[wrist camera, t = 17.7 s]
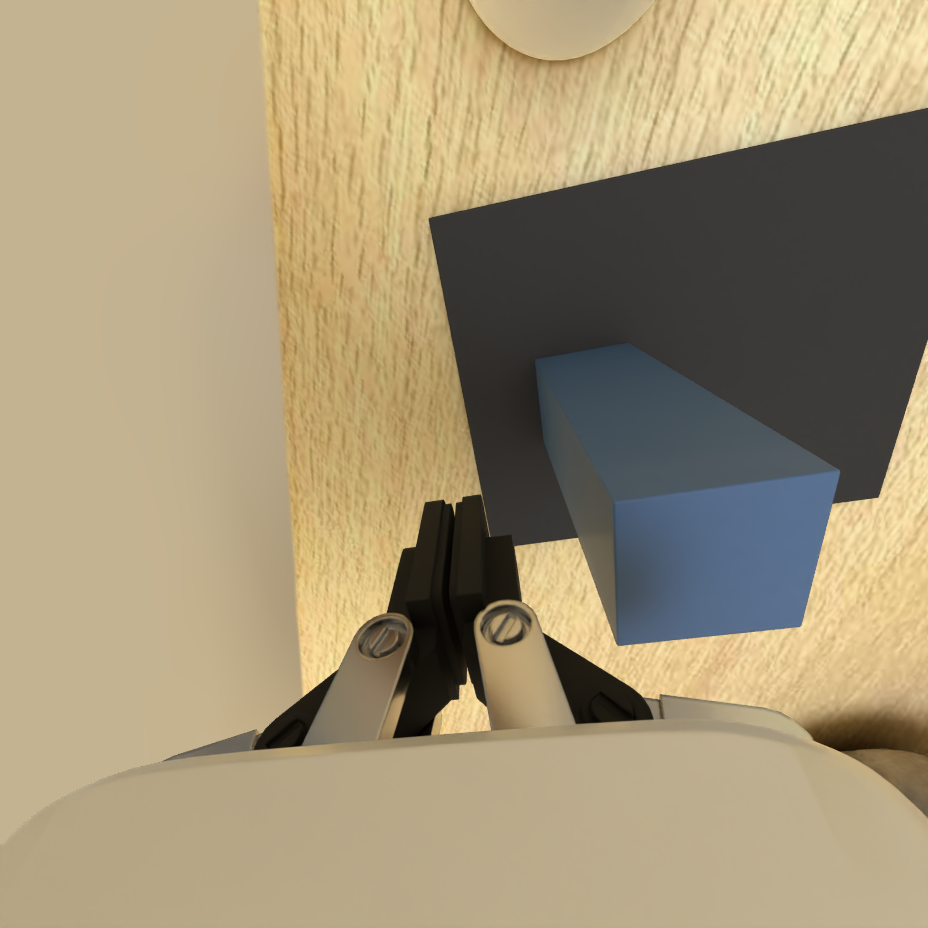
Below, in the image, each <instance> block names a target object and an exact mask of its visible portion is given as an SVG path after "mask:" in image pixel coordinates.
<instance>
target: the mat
mask: <svg viewBox="0 0 928 928" xmlns="http://www.w3.org/2000/svg"><path fill="white" fill-rule="evenodd" d="M429 222H430V228H431V233H432V238H433V243H434V248H435V253H436V258H437V264H438V269H439V274H440V279H441V284H442V289H443V294H444V300H445V305H446V310H447V315H448V320H449V325H450V330H451V335H452V341H453V346H454V351H455V356H456V361H457V366H458V371H459V377H460V382H461V387H462V392H463V397H464V402H465V407H466V413H467V418H468V423H469V428H470V433H471V438H472V443H473V448H474V454H475V459H476V464H477V469H478V474H479V479H480V484H481V490H482V495H483V500H484V505H485V510H486V515H487V520H488V525H489V531H490V536H491V537H495V536H503V535H510V534H512V537H513V543H514V546H518V545H526V544H533V543H541V542H548V541H556V540H563V539H571V538H578V535H577V533H576V530H575V527H574V524H573V521H572V519H571V516H570V513H569V510H568V508H567V505H566V502H565V499H564V496H563V494H562V491H561V488H560V485H559V483H558V480H557V477H556V474H555V471H554V469H553V466H552V463H551V460H550V458H549V455H548V452H547V449H546V446H545V444H544V440H543V431H542V422H541V413H540V403H539V394H538V385H537V376H536V367H535V359H540V358H545V357H551V356H557V355H562V354H568V353H573V352H579V351H584V350H590V349H596V348H601V347H607V346H612V345H618V344H624V343H630V344H631V345H633V346H635V347H636V348H638V349H640V350H641V351H643V352H645V353H646V354H648V355H650V356H651V357H653V358H654V359H656V360H658V361H659V362H661V363H663V364H664V365H666V366H668V367H669V368H671V369H673V370H674V371H676V372H678V373H679V374H681V375H683V376H684V377H686V378H688V379H689V380H691V381H693V382H694V383H696V384H698V385H699V386H701V387H703V388H704V389H706V390H708V391H709V392H711V393H713V394H714V395H716V396H718V397H719V398H721V399H722V400H724V401H726V402H727V403H729V404H731V405H732V406H734V407H736V408H737V409H739V410H741V411H742V412H744V413H746V414H747V415H749V416H751V417H752V418H754V419H756V420H757V421H759V422H761V423H762V424H764V425H766V426H767V427H769V428H771V429H772V430H774V431H776V432H777V433H779V434H781V435H782V436H784V437H785V438H787V439H789V440H790V441H792V442H794V443H795V444H797V445H799V446H800V447H802V448H804V449H805V450H807V451H809V452H810V453H812V454H814V455H815V456H817V457H819V458H820V459H822V460H824V461H825V462H827V463H829V464H830V465H832V466H834V467H835V468H837V469H839V470H840V476H839V480H838V483H837V487H836V491H835V495H834V499H833V503H832V504H834V503H841V502H849V501H856V500H864V499H871V498H878V497H879V494H880V491H881V488H882V485H883V482H884V478H885V475H886V472H887V469H888V465H889V462H890V459H891V456H892V453H893V449H894V446H895V443H896V440H897V437H898V433H899V430H900V427H901V424H902V420H903V417H904V414H905V411H906V408H907V404H908V401H909V398H910V395H911V392H912V388H913V385H914V382H915V379H916V375H917V372H918V369H919V366H920V363H921V359H922V356H923V353H924V350H925V347H926V343H927V340H928V108H925V109H921V110H916V111H912V112H907V113H903V114H898V115H894V116H889V117H885V118H880V119H876V120H871V121H867V122H862V123H858V124H853V125H848V126H844V127H839V128H835V129H830V130H826V131H821V132H817V133H812V134H808V135H803V136H799V137H794V138H790V139H785V140H781V141H776V142H771V143H767V144H762V145H758V146H753V147H749V148H744V149H740V150H735V151H731V152H726V153H722V154H717V155H713V156H708V157H704V158H699V159H695V160H690V161H685V162H681V163H676V164H672V165H667V166H663V167H658V168H654V169H649V170H645V171H640V172H636V173H631V174H627V175H622V176H618V177H613V178H608V179H604V180H599V181H595V182H590V183H586V184H581V185H577V186H572V187H568V188H563V189H559V190H554V191H550V192H545V193H541V194H536V195H531V196H527V197H522V198H518V199H513V200H509V201H504V202H500V203H495V204H491V205H486V206H482V207H477V208H473V209H468V210H464V211H459V212H455V213H450V214H445V215H441V216H436V217H432V218H429Z"/></svg>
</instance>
